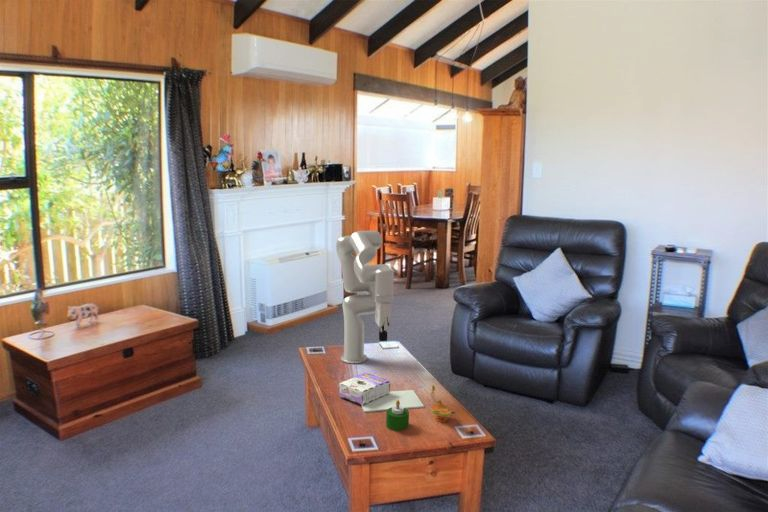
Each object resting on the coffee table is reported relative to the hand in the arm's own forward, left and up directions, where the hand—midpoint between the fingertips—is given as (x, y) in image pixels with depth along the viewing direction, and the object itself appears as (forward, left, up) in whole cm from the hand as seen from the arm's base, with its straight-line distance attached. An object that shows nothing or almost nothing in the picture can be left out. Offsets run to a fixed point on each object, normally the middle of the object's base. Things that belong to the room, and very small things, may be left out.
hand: (383, 340), depth 245 cm
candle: (+34, -2, -22) cm, 40 cm away
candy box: (+2, -2, -18) cm, 18 cm away
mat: (+13, 0, -21) cm, 25 cm away
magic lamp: (+33, +16, -22) cm, 43 cm away
